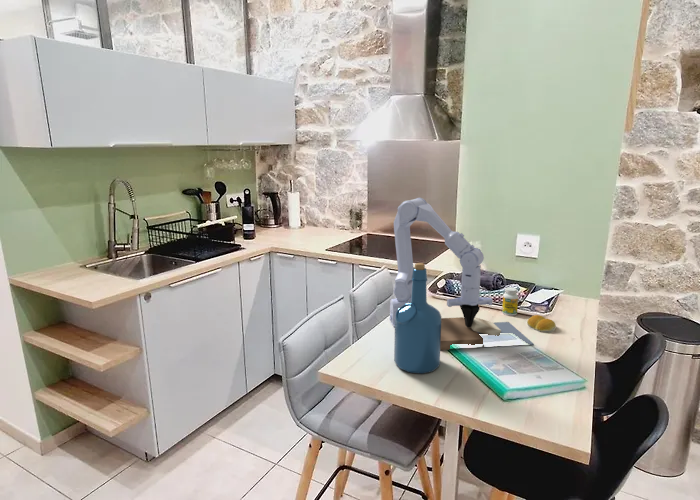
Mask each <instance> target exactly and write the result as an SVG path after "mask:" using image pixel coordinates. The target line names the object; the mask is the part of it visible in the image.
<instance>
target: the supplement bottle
mask: <svg viewBox="0 0 700 500" xmlns="http://www.w3.org/2000/svg"><path fill="white" fill-rule="evenodd" d="M504 291H505V293H503V295H502V306H501V307H502V309H501V310H502V311H501V313H502V314H503V315H506V316H509V317H513V316H516V315H517V314H518V307H519V295H518V294H517V288H516V287H505V290H504Z"/></svg>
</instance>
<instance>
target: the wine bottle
mask: <svg viewBox="0 0 700 500" xmlns="http://www.w3.org/2000/svg"><path fill="white" fill-rule="evenodd" d="M427 273H428V272H427V268H426V265H425V263H423V262H415V263H414V267H413V273H412V279H411V280H412V293H411V302H410V303H407V304H405V305H403V306H401V307H400V308H399V309H398V310H397V312H396V316H395V327H394V350H393V351H394V354H393V355H394V356H393V357H394V359H393V360H394V363H395V365H396V366H397V367H398V368H399V369H400V370H403V371H405V372H408V373H410V374H411V373H412V374H425V373H426V374H427V373H433V372H434V371H436V370H437V369H438V368H439V366H440V363H441V350H440V344H441V320H442V318H443V317H442V314H441V312H440V311H439V309H437V308H436V307H434V306H433V305H432V304H430V303H428V302H427V300H428V299H427V298H428V297H427V296H428V295H427V294H428V293H427V292H428V291H427V284H428V283H427V281H428V274H427Z"/></svg>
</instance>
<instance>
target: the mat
mask: <svg viewBox="0 0 700 500" xmlns="http://www.w3.org/2000/svg"><path fill="white" fill-rule="evenodd" d="M493 323H494V324H495V325H496V326H497V327H498V328H499V329H500V330H501V333H513V334H515V335H516V336H518V337H519V338H520V339H522V340H523V341H525V342H526V343H528V344H530V345H529V346H534V344H535V343H534V342H532V340H530V339H529V338H528V337H527V336H525V335H524V334H523V333H522V332H521V331H519V330H518V328H516V327H515V326H514V325H513V324H512V323H510V322H509V321H499V322H494V321H493ZM477 333H478V334H484V333H480V332H477Z"/></svg>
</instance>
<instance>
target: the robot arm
mask: <svg viewBox="0 0 700 500" xmlns="http://www.w3.org/2000/svg"><path fill="white" fill-rule="evenodd" d="M416 221H417V222H424V223H425V222H426V223H427V224H429V226H431V228H432V229H434V230H435V231H436V232H437V233H438V234H439V235H440V236H441V237H443V239H444V244H445V246H446V247H447V248H448V249H449V251H451V252H452V253H453V254H454V255H455V256H456V257H457V258H458V259H459V263H460V266H461V267H462V269H461V270H462V272H461V286H460V297H455V298H454V297H453V298H447V299H446V306H447V307H449V308H451V307H460V310H461V313H462V315H463V317H464V319H465V325H466V326H467V327H471V326H472V323H473V320H474V318H475V317H476V315H477V314H478V312H479V311H480V306H481V305H483V306H484V305H488V306H492V305H493V298H491V297H485V296H480V287H481V269H482V267H481V264H482V263H483V261H484V259H485V257H484V253H483V252H482V250H481V249H480V248H478V247H475V245H473V244H471V243H470V242H469V241H468V240H467V239H466V238H465V234H464V233H463V232H461V233H460V232H459V231H453V230H452V229H451V228H450V226H448V224H446V222H445V221H444V220H443V219H442V218H441V216H440V215H439V214H438V213H437V212H436V211H435V209H434V208H433V206H432V205H431V204H430V203H428V202H427V201H426V200H425V198H422V197H416V198H414V199H410V200H407V199H406V200H404V201H403V202H401V203H400V205H398V207H397V212H396V215H395V217H394V220H393V232H394V233H393V234H394V242H395V243H394V244H395V253H396V262H397V264H396V265H397V275H396V277H395V279H394V287H393V295H394V297H395V298H391V299H390V300H389V321H390V323H391V324H392V327H394V328H395V316H396V312H397V310H398V309H399V308H400V307H401V306H403V305H405V304H407V303H410V302H411V293H412V280H411V279H412V273H413V268H414V259H413V247H412V246H413V245H412V236H411V226H412V225H413V224H414V222H416Z"/></svg>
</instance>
